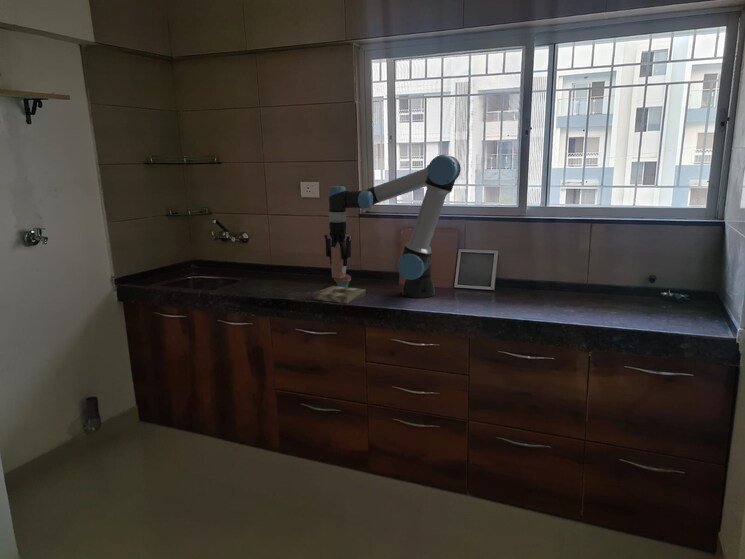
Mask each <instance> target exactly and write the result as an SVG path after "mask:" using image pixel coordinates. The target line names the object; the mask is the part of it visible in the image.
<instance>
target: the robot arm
mask: <svg viewBox="0 0 745 559" xmlns="http://www.w3.org/2000/svg"><path fill="white" fill-rule="evenodd" d="M461 170H462V168H461V164H460V162H459V160H458V159H457V158H455V157H454V156H452V155H448V154H440V155H437V156H435V157H434V158H433V159H431V161H430V163H429V164H427V165H426V167H425V168H422V169H420V170H417V171H414V172H411V173H408V174H405V175H404V176H401V177H398V178H396V179H395V178H394V179H392V180H389V181H387V182H384V183H382V184H378V185H376V186H373V187H372V186H371V187H370V188H366V189H364V190H347V188H346V187H345V186H343V185H342V186H341V185H339V186H337V185H336V186H335V185H334V186H330V187H329V188H328V216H329V217H328V220H329V224H328V226H329V228H328V229H329V230H330V231H329V233H328V234H327V233H326V234H324V236H323V237H324V240H325V256H326V257H328V258H329V264H330V265H331V268H332V258H331V247H335V246H340V247H341V253H342V259H341V274H343V273H346V272H347V266H348V259H349V258H351V257H352V239H353V236H352V235H349V234H347V209H363V210H365V209H371V208H372V206H374V205H377V204H379V203H382V202H384V201H388V200H390V199H393V198H396V197H400V196H402V195H405V194H408V193H410V192H414V191H416V190H419V189H422V188H425V187H426V191H425V193H424V197H423V200H422V203H421V205H420V209H419V211H418V212H419V213H418V215H417V218H416V222H415V225H414V228H413V230H412V234H411V236H410V239H409V242H406V243H405V244H404V247H403V251H402V254H401V255H400V257H399V258H398V261H397V264H396V265H397V266H396V268H397V271H398V273H399V274H400V276H402V277H403V279H405V281H404V284H403V287H402V296H404V297H406V298H414V299H415V298H416V299H419V298H420V299H423V298H430V297H433V296H435V295H436V290H435V287H434V282H433V280H432V253H433V252H432V247H431V246H430V245H431V243H432V239H433V237H434V233H435V231H436V226H437V224H438V221H439V218H440V215H441V212H442V209H443V207H444V204H445V200H446V198H447V195H449V194H450V193H452V191H453V189H454V186H455V183H456V180H457V179H458V178H459V176H460V175H461ZM337 244H338V245H337ZM346 274H347V273H346Z"/></svg>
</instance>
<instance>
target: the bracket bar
mask: <svg viewBox="0 0 745 559" xmlns="http://www.w3.org/2000/svg"><path fill="white" fill-rule="evenodd" d="M331 258H332V267H331V278H333V279H334V278H343V277H346V274H347V273H343V274H341V259H342V253H341V247H340V245H336V246H335V247H331Z"/></svg>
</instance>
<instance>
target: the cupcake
mask: <svg viewBox="0 0 745 559" xmlns="http://www.w3.org/2000/svg"><path fill="white" fill-rule="evenodd" d="M333 280H334V282H336V286H339V287H348V288H349V283H350V282H351V281H352V276H351V275H350V274H348V273H346V277H343V278H333Z"/></svg>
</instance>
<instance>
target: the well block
mask: <svg viewBox="0 0 745 559" xmlns="http://www.w3.org/2000/svg"><path fill="white" fill-rule="evenodd" d="M366 291H367V290H366V289H365V288H364V289H363V288H358V287H357V288H356V287H349V286H348V287H339V286H338V285H332V286H329V287H326V288H323V289H321V290H318V291H314V292H313V300H318V301H325V302H332V303H333V302H334V303H339V304H340V303H341V304H349V302H350V303H352V302H354V301H357V300H358V299H361V298H363V297H366V295H367V294H366V293H367V292H366ZM351 301H352V302H351Z"/></svg>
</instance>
